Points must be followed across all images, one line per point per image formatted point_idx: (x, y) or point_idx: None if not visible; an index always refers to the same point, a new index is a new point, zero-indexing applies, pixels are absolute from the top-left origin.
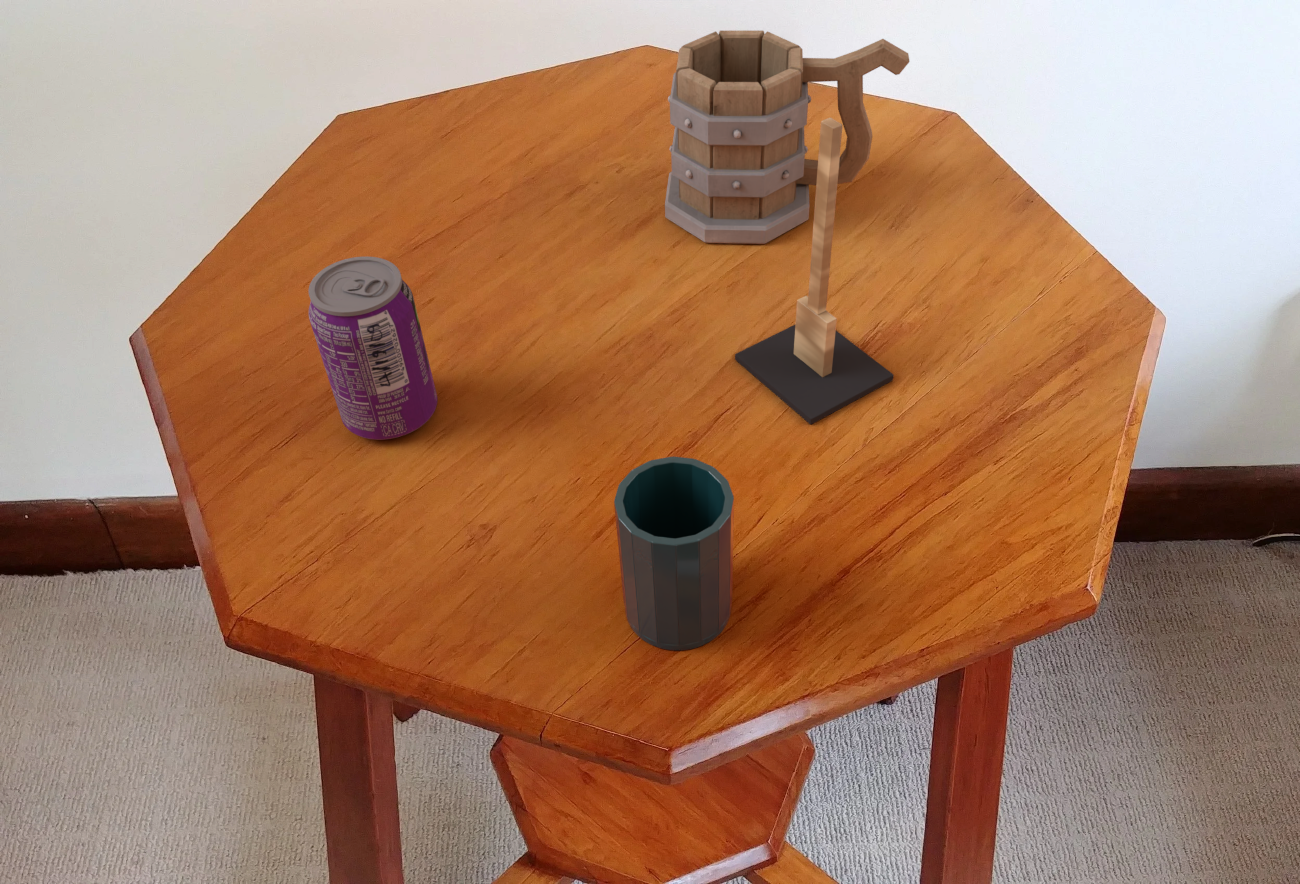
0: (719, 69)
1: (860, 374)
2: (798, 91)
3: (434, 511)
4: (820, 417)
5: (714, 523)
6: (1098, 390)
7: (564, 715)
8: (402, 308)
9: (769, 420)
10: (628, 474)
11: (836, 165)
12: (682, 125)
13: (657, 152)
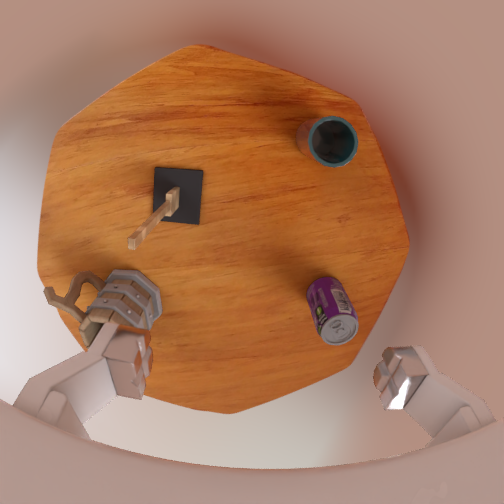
0: None
1: (165, 177)
2: (93, 310)
3: (346, 240)
4: (197, 170)
5: (331, 119)
6: (100, 110)
7: (373, 137)
8: (331, 311)
9: (214, 185)
10: (337, 166)
11: (139, 228)
12: None
13: None
